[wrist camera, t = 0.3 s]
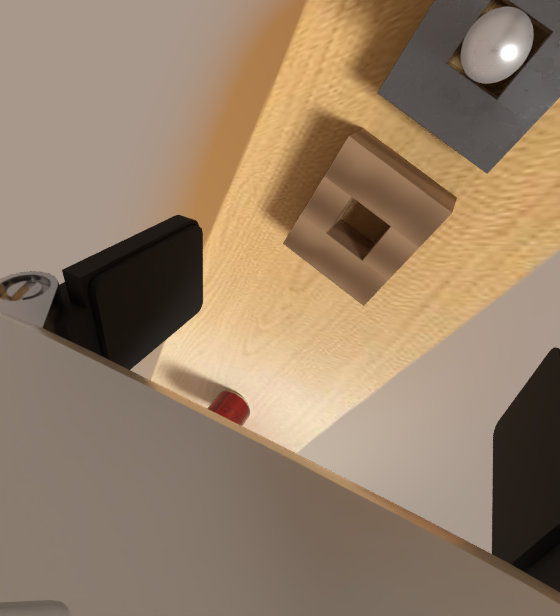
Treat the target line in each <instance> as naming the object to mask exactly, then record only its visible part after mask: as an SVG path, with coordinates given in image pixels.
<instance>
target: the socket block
mask: <svg viewBox="0 0 560 616" xmlns="http://www.w3.org/2000/svg"><path fill="white" fill-rule="evenodd" d="M494 1H495V0H435V1H434V2H433V4H432V5H431V7H430V9H429V10H428V12H427V14H426V15H425V17H424V18H423V20H422V22H421V23H420V25H419V27H418V28H417V30H416V31H415V33H414V35H413V36H412V38H411V40H410V41H409V43H408V44H407V46H406V48H405V49H404V51H403V52H402V54H401V56H400V57H399V59H398V61H397V62H396V64H395V65H394V67H393V69H392V70H391V72H390V74H389V75H388V77H387V78H386V80H385V82H384V83H383V85H382V87H381V88H380V90H379V91H378V94H380V95H381V96H382V97H384V98H385V99H386V100H388V101H389V102H391V103H392V104H393V105H395V106H396V107H397V108H399V109H400V110H401V111H403V112H404V113H405V114H407V115H408V116H410V117H411V118H412V119H414V120H415V121H416V122H418V123H419V124H420V125H422V126H423V127H424V128H426V129H427V130H429V131H430V132H431V133H433V134H434V135H435V136H437V137H438V138H439V139H441V140H442V141H443V142H445V143H446V144H447V145H449V146H450V147H452V148H453V149H454V150H456V151H457V152H458V153H460V154H461V155H462V156H464V157H465V158H466V159H468V160H469V161H471V162H472V163H473V164H475V165H476V166H477V167H479V168H480V169H481V170H483V171H484V172H485V173H488V172H489V171H490V170H491V169H492V168H493V167H494V166H495V165H496V164H497V163H498V162H499V161H500V160H501V159H502V158H503V156H504V155H505V154H506V153H507V152H508V151H509V150H510V149H511V148H512V147H513V146H514V145H515V144H516V143H517V142H518V141H519V140H520V139H521V137H522V136H523V135H524V134H525V133H526V132H527V131H528V130H529V129H530V128H531V127H532V126H533V125H534V124H535V123H536V122H537V121H538V120H539V118H540V117H541V116H542V115H543V114H544V113H545V112H546V111H547V110H548V109H549V108H550V107H551V106H552V105H553V104H554V103H555V102H556V101H557V99H558V98H559V97H560V0H501V1H502V2H504V3H505V4H507V5H508V6H509V7H515V8H518V9H520V10H522V11H523V12H524V13H525V14H526V15H527V16H528V17H529V19H530V20H531V22H532V23H533V24H535V25H536V26H538V27H539V28H540V29H542V30H543V31H545V32H546V33H547V34H548V35H547V37H546V38H545V39H544V40H543V41H542V43H541V44H540V45H539V46H538V47H537V49H536V50H535V51H534V52H533V53H532V55H531V56H530V57H529V58H528V59H527V61H526V62H525V63H524V64H523V65H522V67H521V68H520V69H519V70H518V71H517V73H516V74H515V75H514V76H513V77H512V79H511V80H510V81H509V82H508V83H507V85H506V86H505V87H504V88H503V89H502V91H501V92H500V93H499V94H498V95H497V96H496V95H495V94H493V93H492V92H491V91H489V90H488V89H486V88H485V87H484V86H482V85H481V84H480V83H478V82H476V81H474V80H472V79H471V78H470V77H469V76H468V75H467V74H466V73H464V72H463V71H462V70H460V69H459V68H457V67H456V66H455V65H453V64H452V63H451V62H452V61H453V59H454V58H455V56H456V55H457V54H458V52H459V51H460V49H461V48H462V44H463V41H464V38H465V36H466V34H467V33H468V31H469V29H470V28H471V27H472V25H473V24H474V23H475V22H476V21H477V20H478V19H479V18H480V17H481V16H483V15H484V14H486V13H487V11H488V10H489V9H490V7H491V6H492V4H493V3H494Z"/></svg>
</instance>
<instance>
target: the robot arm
mask: <svg viewBox="0 0 560 616" xmlns="http://www.w3.org/2000/svg"><path fill="white" fill-rule="evenodd" d="M62 272H63V276H64V279H65V282H64V283H62V284H60V285H59V283H58V280H57V279H56V278H55V277H54V276H53V275H51V274H49V273H44V272H36V271H30V272H20V273H16V274H12V275H9V276H6V277H4V278H1V279H0V616H560V349H559V348H553V349H551V351H550V352H549V353H548V354H547V356H546V357H545V358H544V360H543V361H542V362H541V364H540V365H539V367H538V368H537V369H536V371H535V372H534V373H533V375H532V376H531V378H530V379H529V380H528V382H527V383H526V384H525V386H524V387H523V389H522V390H521V391H520V392H519V394H518V395H517V397H516V398H515V400H514V401H513V402H512V403H511V405H510V406H509V407H508V409H507V410H506V412H505V413H504V414H503V416H502V417H501V418H500V420H499V421H498V423H497V425H496V427H495V430H494V435H493V508H492V511H493V512H492V554H490V553H488V552H486V551H485V550H483V549H481V548H479V547H477V546H475V545H473V544H471V543H469V542H467V541H465V540H464V539H462V538H460V537H458V536H456V535H454V534H452V533H450V532H448V531H447V530H445V529H443V528H441V527H439V526H437V525H435V524H433V523H431V522H429V521H428V520H425V519H424V518H422V517H420V516H418V515H416V514H414V513H412V512H410V511H408V510H406V509H404V508H402V507H401V506H399V505H397V504H395V503H393V502H390V501H389V500H387V499H385V498H383V497H381V496H379V495H377V494H375V493H373V492H371V491H369V490H367V489H365V488H363V487H361V486H359V485H357V484H355V483H353V482H351V481H349V480H347V479H345V478H343V477H341V476H339V475H337V474H336V473H334V472H332V471H330V470H328V469H326V468H323V467H322V466H320V465H318V464H316V463H314V462H312V461H310V460H308V459H306V458H304V457H302V456H300V455H298V454H296V453H294V452H292V451H290V450H288V449H286V448H284V447H282V446H280V445H278V444H276V443H274V442H272V441H270V440H268V439H266V438H264V437H262V436H260V435H258V434H256V433H254V432H252V431H250V430H248V429H246V428H245V427H243V426H241V425H239V424H237V423H235V422H233V421H231V420H229V419H227V418H225V417H223V416H221V415H219V414H217V413H215V412H213V411H211V410H209V409H207V408H205V407H203V406H201V405H199V404H197V403H195V402H193V401H191V400H189V399H187V398H185V397H183V396H181V395H179V394H177V393H175V392H173V391H171V390H169V389H167V388H165V387H163V386H160V385H158V384H156V383H154V382H152V381H150V380H148V379H146V378H144V377H142V376H140V375H138V374H136V373H134V372H132V371H130V369H131V368H133V367H134V366H135V365H136V364H137V363H139V362H140V361H141V360H142V359H143V358H145V357H146V356H147V355H148V354H149V353H151V352H152V351H153V350H154V349H155V348H157V347H158V346H159V345H160V344H161V343H162V342H164V341H165V340H166V339H167V338H168V337H170V336H171V335H172V334H173V333H174V332H176V331H177V330H178V329H179V328H180V327H182V326H183V325H184V324H185V323H186V322H187V321H189V320H190V319H191V318H192V317H193V316H195V315H196V314H197V313H198V312H199V311H200V309H201V307H202V304H203V233H202V229H201V228H200V227H199V225H198V222H197V221H196V220H193V219H189V218H187V217H184V216H181V215H176V216H174V217H172V218H169V219H167V220H165V221H163V222H161V223H159V224H157V225H155V226H153V227H151V228H149V229H146V230H144V231H142V232H140V233H138V234H136V235H134V236H132V237H130V238H128V239H126V240H124V241H121V242H119V243H118V244H115V245H113V246H111V247H109V248H107V249H105V250H103V251H101V252H99V253H97V254H95V255H92V256H90V257H88V258H86V259H84V260H82V261H80V262H78V263H76V264H74V265H71V266H69V267H67V268H65V269H63V270H62Z"/></svg>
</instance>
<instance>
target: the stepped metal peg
mask: <svg viewBox="0 0 560 616" xmlns="http://www.w3.org/2000/svg"><path fill="white" fill-rule="evenodd" d="M533 36H534V34H533V26H532V23H531V20H530V19H529V17H528V16H527V15H526V14H525V13H524V12H523V11H522V10H520V9H518V8H515V7H500V8H496V9H494V10H491V11H489V12H487V13H486V14H484V15H483V16H481V17H480V18H479V19H478V20H477V21H476V22H475V23H474V24H473V25H472V27H471V28H470V29H469V31H468V33H467V34H466V36H465V38H464V41H463V44H462V48H461V63H462V67H463V69H464V71H465V73H466V74H467V75H468V76H469V77H470V78H471V79H472V80H474V81H476V82H479V83H486V84H487V83H495V82H498V81H501V80H503V79H505V78H507V77H509V76H510V75H512V74H513V73H514V72H515V71H516V70H518V69H519V67H520V66H521V65H522V64H523V63H524V61H525V60H526V58H527V56H528V54H529V52H530V50H531V47H532V43H533Z"/></svg>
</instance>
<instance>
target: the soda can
mask: <svg viewBox="0 0 560 616" xmlns="http://www.w3.org/2000/svg"><path fill="white" fill-rule="evenodd" d="M207 409H209V410H211V411H213V412H215V413H217V414H219V415H221V416H223V417H225V418H227V419H229V420H231V421H233V422H235V423H237V424H239V425H241V426H243V424H244V423H245V421H246V420H247V419H248V417H249V415H250V408H249V405H248V403H247V402H246V400H245V399H244V398H243V397H242V396H240V395H239V394H237V393H235V392H233V391H223V392H221V393H220V394H219V395H218V396H217V397H216V399H215V400H214V401H213V402H212V403H211V405H210V406H209V407H208V408H207Z"/></svg>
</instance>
